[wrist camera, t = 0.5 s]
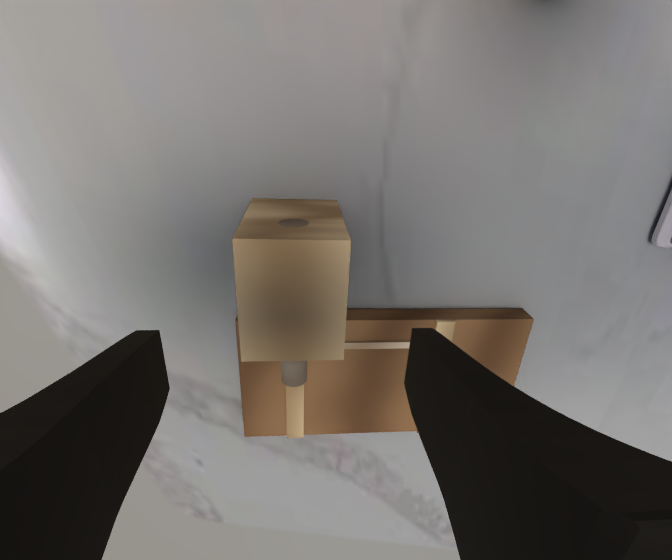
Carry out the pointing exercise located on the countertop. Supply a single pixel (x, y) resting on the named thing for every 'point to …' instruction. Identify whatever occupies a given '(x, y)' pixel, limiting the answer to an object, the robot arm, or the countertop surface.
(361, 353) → the walnut board
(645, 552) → the robot arm
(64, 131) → the countertop surface
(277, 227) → the pale wood holed block
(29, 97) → the countertop surface
